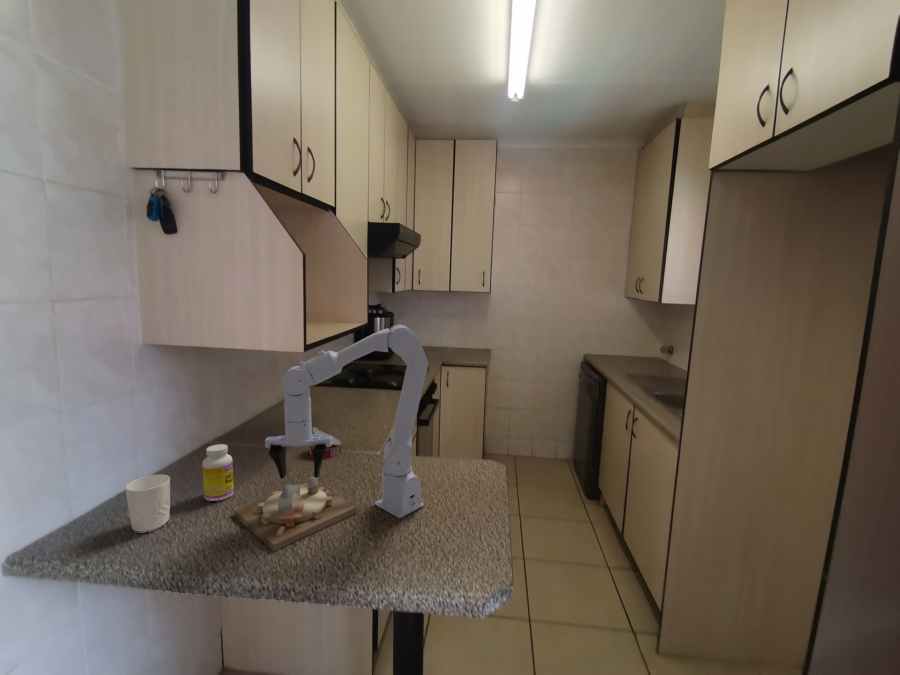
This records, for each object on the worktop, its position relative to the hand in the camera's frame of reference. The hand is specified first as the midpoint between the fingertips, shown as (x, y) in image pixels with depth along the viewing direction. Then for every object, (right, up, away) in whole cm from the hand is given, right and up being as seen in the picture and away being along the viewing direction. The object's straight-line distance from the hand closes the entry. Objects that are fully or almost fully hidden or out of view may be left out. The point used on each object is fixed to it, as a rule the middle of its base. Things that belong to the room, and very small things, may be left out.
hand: (300, 476), depth 96 cm
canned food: (-6, -6, +38) cm, 39 cm away
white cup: (-32, -10, -4) cm, 33 cm away
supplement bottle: (-24, -8, +9) cm, 27 cm away
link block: (-1, -6, -3) cm, 7 cm away
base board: (-1, -9, +1) cm, 9 cm away
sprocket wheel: (-1, -8, +1) cm, 8 cm away
